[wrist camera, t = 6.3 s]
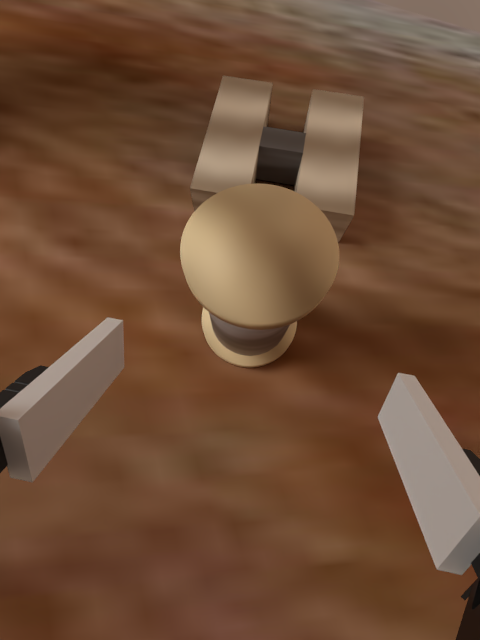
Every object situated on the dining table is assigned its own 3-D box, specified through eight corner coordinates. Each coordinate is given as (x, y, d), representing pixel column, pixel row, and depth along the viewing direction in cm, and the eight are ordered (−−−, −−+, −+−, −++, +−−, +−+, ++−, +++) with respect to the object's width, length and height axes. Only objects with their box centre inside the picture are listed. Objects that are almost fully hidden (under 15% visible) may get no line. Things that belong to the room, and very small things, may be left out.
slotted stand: (338, 242, 30) (354, 215, 26) (195, 217, 30) (190, 188, 26) (349, 133, 34) (364, 96, 30) (224, 113, 35) (222, 75, 31)
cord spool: (250, 388, 25) (263, 359, 14) (183, 321, 27) (146, 247, 16) (313, 321, 27) (371, 248, 16) (247, 263, 29) (257, 159, 17)
